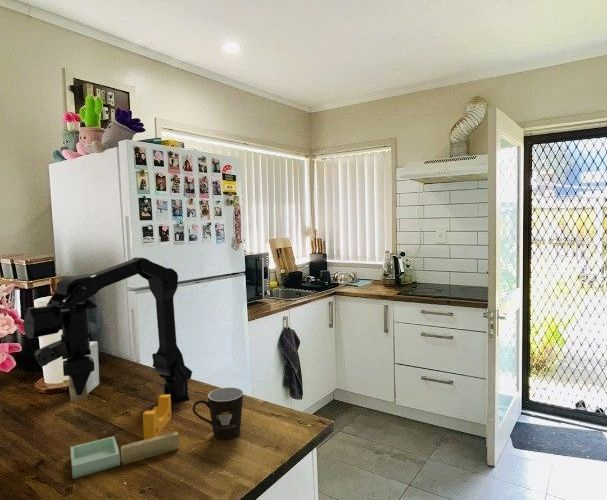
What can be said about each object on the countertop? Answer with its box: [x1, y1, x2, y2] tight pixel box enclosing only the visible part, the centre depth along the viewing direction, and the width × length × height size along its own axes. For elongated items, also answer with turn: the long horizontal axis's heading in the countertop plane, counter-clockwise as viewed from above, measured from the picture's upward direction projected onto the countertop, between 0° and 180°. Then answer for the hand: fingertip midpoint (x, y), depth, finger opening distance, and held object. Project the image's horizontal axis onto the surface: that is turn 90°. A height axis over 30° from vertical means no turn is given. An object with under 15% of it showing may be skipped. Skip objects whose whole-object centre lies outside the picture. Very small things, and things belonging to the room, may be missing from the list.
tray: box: [69, 435, 121, 479], centre depth 92 cm, size 9×9×3 cm
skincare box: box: [68, 341, 100, 395], centre depth 134 cm, size 8×6×15 cm
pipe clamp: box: [142, 393, 172, 440], centre depth 107 cm, size 12×4×6 cm, turn 178°
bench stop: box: [120, 431, 180, 466], centre depth 94 cm, size 12×2×4 cm, turn 121°
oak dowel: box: [68, 376, 88, 403], centre depth 102 cm, size 4×4×7 cm
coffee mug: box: [192, 386, 244, 441], centre depth 103 cm, size 12×9×10 cm
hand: (78, 392), depth 102 cm, fingers closed on oak dowel, 4 cm apart
